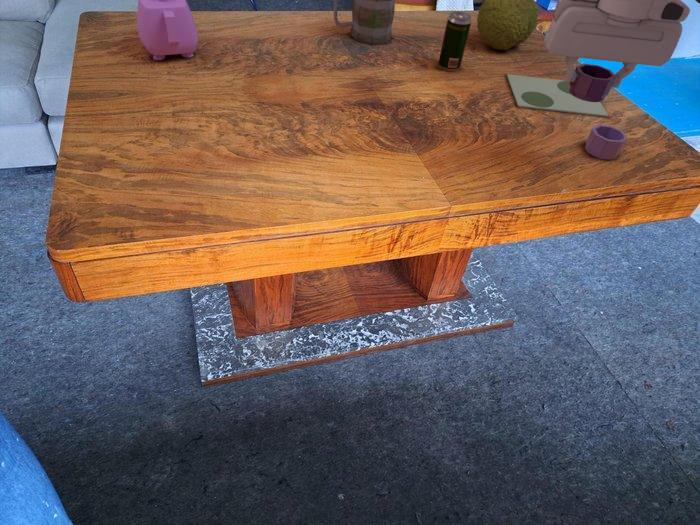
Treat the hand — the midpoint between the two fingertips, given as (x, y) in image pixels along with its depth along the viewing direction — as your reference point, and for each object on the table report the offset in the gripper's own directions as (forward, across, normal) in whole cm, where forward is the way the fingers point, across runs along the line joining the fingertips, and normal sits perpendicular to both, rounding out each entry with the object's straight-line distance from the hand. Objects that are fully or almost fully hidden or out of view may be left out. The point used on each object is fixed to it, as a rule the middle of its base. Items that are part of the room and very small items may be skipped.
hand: (591, 83), depth 88 cm
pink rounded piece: (+14, -84, +28) cm, 90 cm away
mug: (+14, -40, +50) cm, 66 cm away
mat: (+14, +5, +26) cm, 31 cm away
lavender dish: (+14, +9, +4) cm, 17 cm away
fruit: (+15, -4, +54) cm, 56 cm away
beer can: (+15, -19, +36) cm, 43 cm away
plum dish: (+2, 0, 0) cm, 2 cm away
